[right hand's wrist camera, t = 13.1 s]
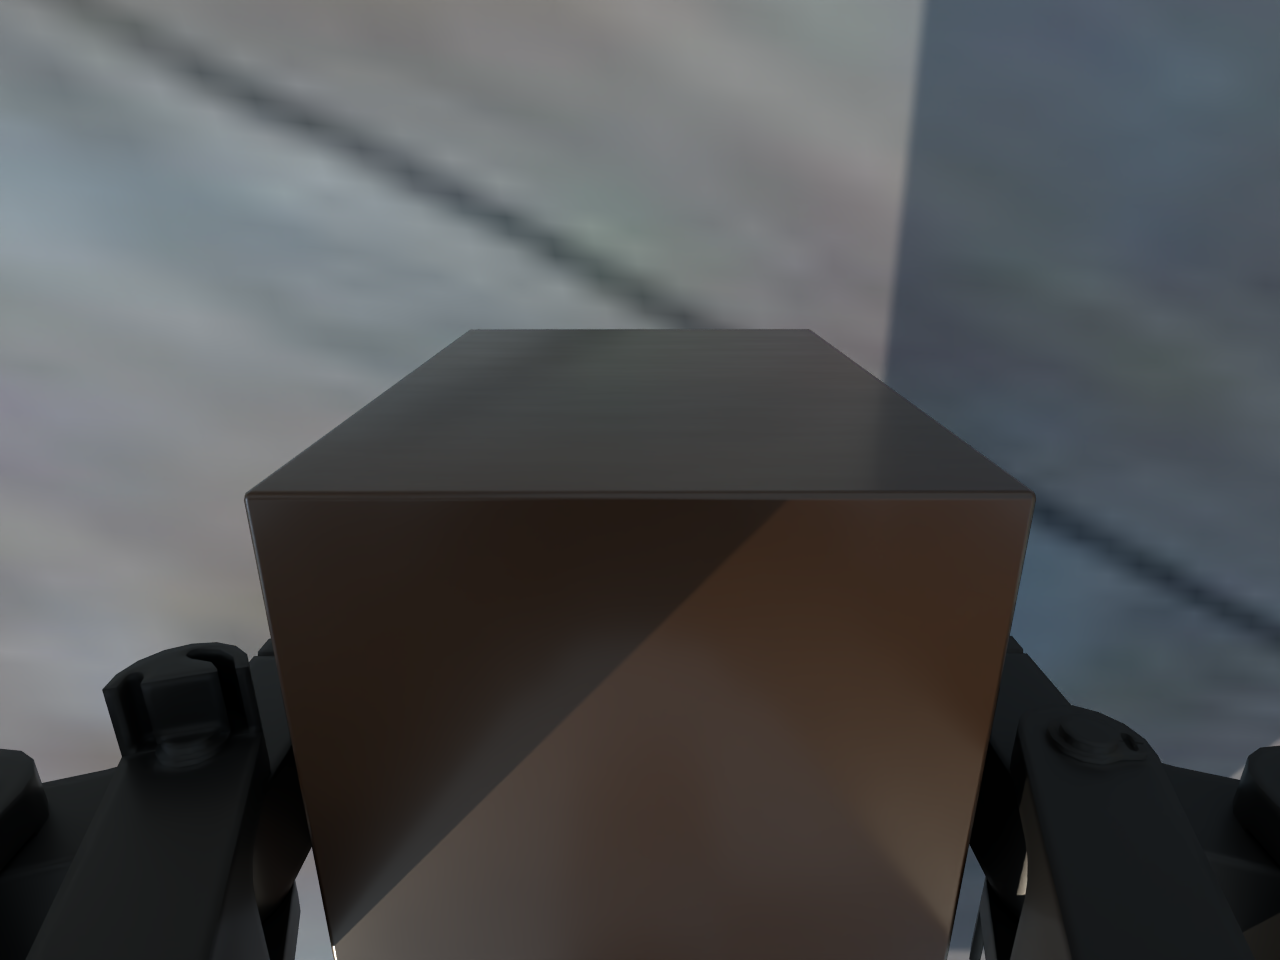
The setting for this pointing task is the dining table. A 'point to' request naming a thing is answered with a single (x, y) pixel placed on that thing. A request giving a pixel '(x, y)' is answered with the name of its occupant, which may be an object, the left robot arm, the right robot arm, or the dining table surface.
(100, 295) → the dining table surface
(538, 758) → the walnut beam
